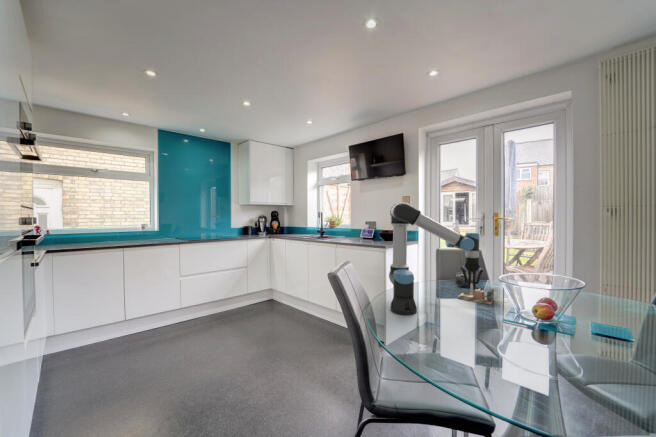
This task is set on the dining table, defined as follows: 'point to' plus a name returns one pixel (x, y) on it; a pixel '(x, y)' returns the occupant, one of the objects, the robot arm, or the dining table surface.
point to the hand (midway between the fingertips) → (472, 294)
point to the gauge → (478, 294)
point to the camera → (462, 279)
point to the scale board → (485, 300)
